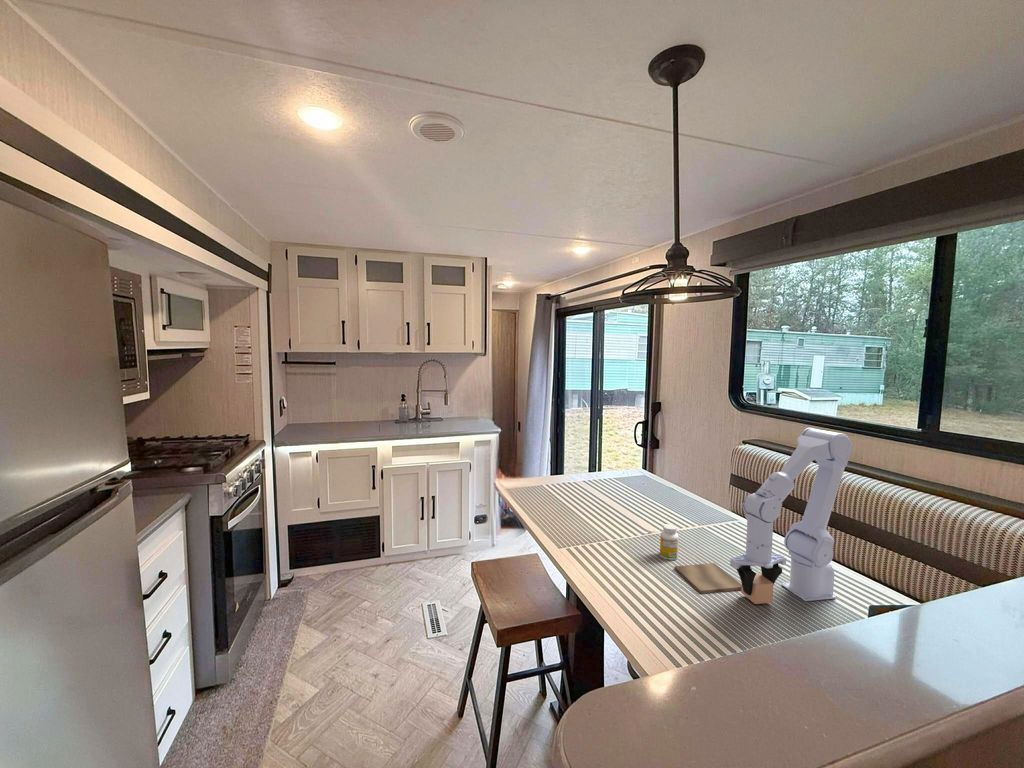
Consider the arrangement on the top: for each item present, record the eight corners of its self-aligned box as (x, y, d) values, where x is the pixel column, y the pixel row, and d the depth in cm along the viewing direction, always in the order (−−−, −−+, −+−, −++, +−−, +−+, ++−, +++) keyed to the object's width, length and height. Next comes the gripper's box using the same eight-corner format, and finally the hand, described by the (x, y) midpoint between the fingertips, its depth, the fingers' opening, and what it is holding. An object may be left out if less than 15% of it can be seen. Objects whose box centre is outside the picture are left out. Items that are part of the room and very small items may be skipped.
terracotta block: (758, 591, 111) (758, 573, 110) (772, 602, 106) (773, 583, 105) (741, 592, 110) (742, 574, 110) (755, 604, 105) (755, 585, 105)
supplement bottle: (663, 550, 135) (664, 521, 135) (680, 555, 132) (681, 526, 131) (657, 556, 131) (658, 526, 130) (674, 562, 128) (675, 531, 127)
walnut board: (714, 565, 126) (714, 563, 126) (744, 589, 113) (744, 586, 113) (674, 568, 124) (674, 566, 124) (700, 593, 111) (700, 590, 111)
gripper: (744, 550, 102) (742, 603, 103) (796, 546, 104) (794, 598, 105) (725, 538, 109) (723, 587, 110) (775, 534, 111) (772, 583, 112)
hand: (756, 592), depth 108 cm, fingers closed on terracotta block, 5 cm apart
